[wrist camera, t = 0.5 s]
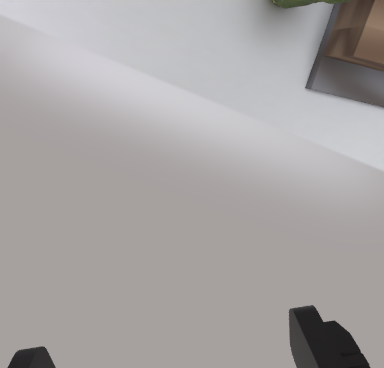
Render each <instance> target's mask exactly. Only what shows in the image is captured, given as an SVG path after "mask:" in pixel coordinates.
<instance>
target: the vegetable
mask: <svg viewBox="0 0 384 368" xmlns="http://www.w3.org/2000/svg"><path fill="white" fill-rule="evenodd" d="M349 1H352V0H273V3H274V4H276V5H277V6H279V7H283V8H291V7H297V6H305V5H309V4H312V3H317V2H326V3H330V4H336V3H344V2H349Z"/></svg>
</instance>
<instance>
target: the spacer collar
mask: <svg viewBox="0 0 384 368" xmlns="http://www.w3.org/2000/svg"><path fill="white" fill-rule="evenodd" d="M306 88H308V89H312V90H316V91H320V92H325V93H329V94H333V95H337V96H341V97H345V98H349V99H353V100H357V101H361V102H365V103H369V104H374V105H378V106H382V107H384V0H352V1H349V2H344V3H336V4H335V5H334V8H333V10H332V13H331V16H330V19H329V22H328V25H327V28H326V31H325V33H324V36H323V39H322V42H321V45H320V48H319V51H318V54H317V57H316V59H315V62H314V65H313V68H312V71H311V74H310V77H309V80H308V82H307V85H306Z"/></svg>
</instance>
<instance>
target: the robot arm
mask: <svg viewBox="0 0 384 368" xmlns="http://www.w3.org/2000/svg"><path fill="white" fill-rule="evenodd" d="M289 326H290V346H291V351H292V355H293V358H294V361H295V364H296V366H297V368H370V366H369V363H368V362H367V360H366V358H365V357H364V355H363V354H362V353H361V351H360V349H359V347H358V345H357V344H356V342H355V341H354V339H353V338H352V336H351V334H350V333H349V332H348V331H347V330H345V329H344V328H343V327H342V326H341V325H340V324H338V323H337V322H336V321H329V322H323V320H322V319H321V317H320V315H319V313H318V311H317V310H316V308H315V307H314V306H313V305H311V306H305V307H298V308H292V309H290V310H289ZM8 368H55V365H54V364H53V361H52V359H51V357H50V356H49V353H48V351H47V349H46V348H45V347H36V348H30V349H23V350H19V351H17V352H16V353H15V355H14V356H13V358H12V360H11V362H10V364H9V366H8Z"/></svg>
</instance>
